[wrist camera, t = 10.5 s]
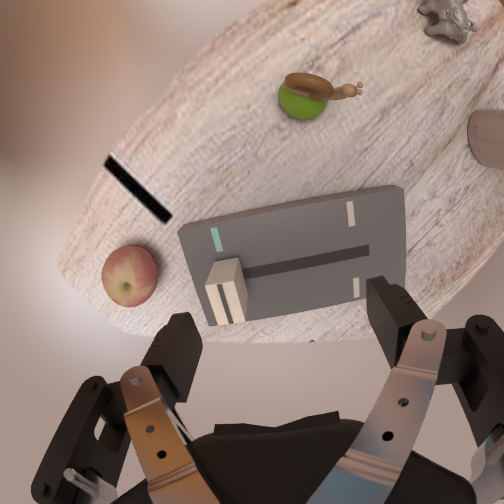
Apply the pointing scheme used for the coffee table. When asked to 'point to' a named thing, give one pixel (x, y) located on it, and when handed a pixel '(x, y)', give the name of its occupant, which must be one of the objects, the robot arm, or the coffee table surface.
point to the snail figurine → (311, 94)
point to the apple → (129, 276)
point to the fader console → (303, 250)
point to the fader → (227, 291)
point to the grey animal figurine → (449, 19)
